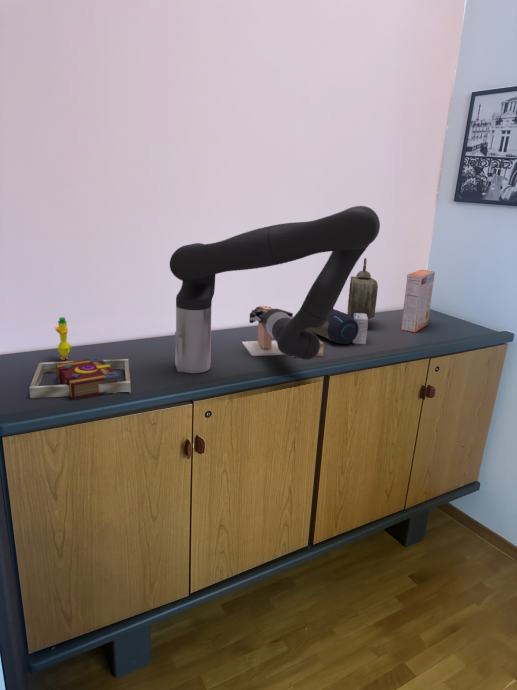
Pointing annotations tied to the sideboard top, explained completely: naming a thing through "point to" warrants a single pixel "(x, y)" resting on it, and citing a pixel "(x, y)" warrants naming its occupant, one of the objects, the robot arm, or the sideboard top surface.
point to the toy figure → (63, 338)
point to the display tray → (64, 390)
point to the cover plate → (264, 333)
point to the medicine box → (361, 328)
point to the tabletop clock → (362, 294)
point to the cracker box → (417, 300)
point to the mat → (262, 349)
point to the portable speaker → (338, 328)
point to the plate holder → (320, 349)
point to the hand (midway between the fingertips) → (262, 310)
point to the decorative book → (85, 376)
